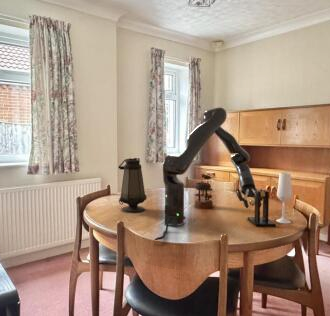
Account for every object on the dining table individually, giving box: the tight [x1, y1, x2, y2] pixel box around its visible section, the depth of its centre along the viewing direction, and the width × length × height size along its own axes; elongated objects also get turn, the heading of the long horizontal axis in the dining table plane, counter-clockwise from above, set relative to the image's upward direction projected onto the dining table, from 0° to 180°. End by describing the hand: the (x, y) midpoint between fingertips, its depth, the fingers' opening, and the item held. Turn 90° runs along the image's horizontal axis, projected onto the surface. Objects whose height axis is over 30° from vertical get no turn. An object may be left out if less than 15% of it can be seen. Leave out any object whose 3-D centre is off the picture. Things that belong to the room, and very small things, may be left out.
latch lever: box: [248, 191, 265, 207], centre depth 149 cm, size 17×3×3 cm, turn 179°
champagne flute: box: [275, 172, 293, 224], centre depth 145 cm, size 7×7×24 cm
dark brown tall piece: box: [193, 173, 214, 210], centre depth 176 cm, size 15×11×20 cm
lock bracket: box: [247, 189, 277, 228], centre depth 143 cm, size 12×9×16 cm
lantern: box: [118, 157, 147, 214], centre depth 170 cm, size 18×15×30 cm
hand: (253, 207), depth 154 cm, fingers open, 5 cm apart
